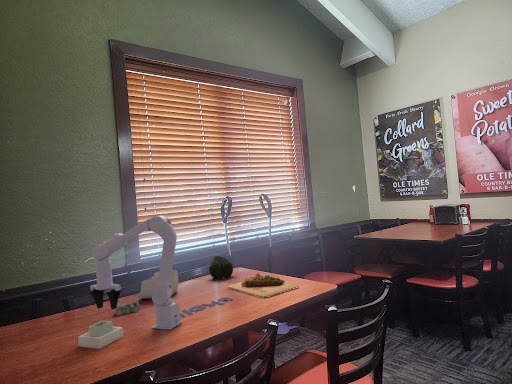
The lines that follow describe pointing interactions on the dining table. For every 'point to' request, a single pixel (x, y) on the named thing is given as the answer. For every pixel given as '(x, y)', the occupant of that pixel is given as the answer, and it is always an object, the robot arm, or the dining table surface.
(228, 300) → the signage
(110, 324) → the green crate
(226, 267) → the squash
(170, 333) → the dining table surface
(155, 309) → the robot arm
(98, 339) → the tray
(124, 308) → the egg carton
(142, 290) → the cream block
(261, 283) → the cutting board
